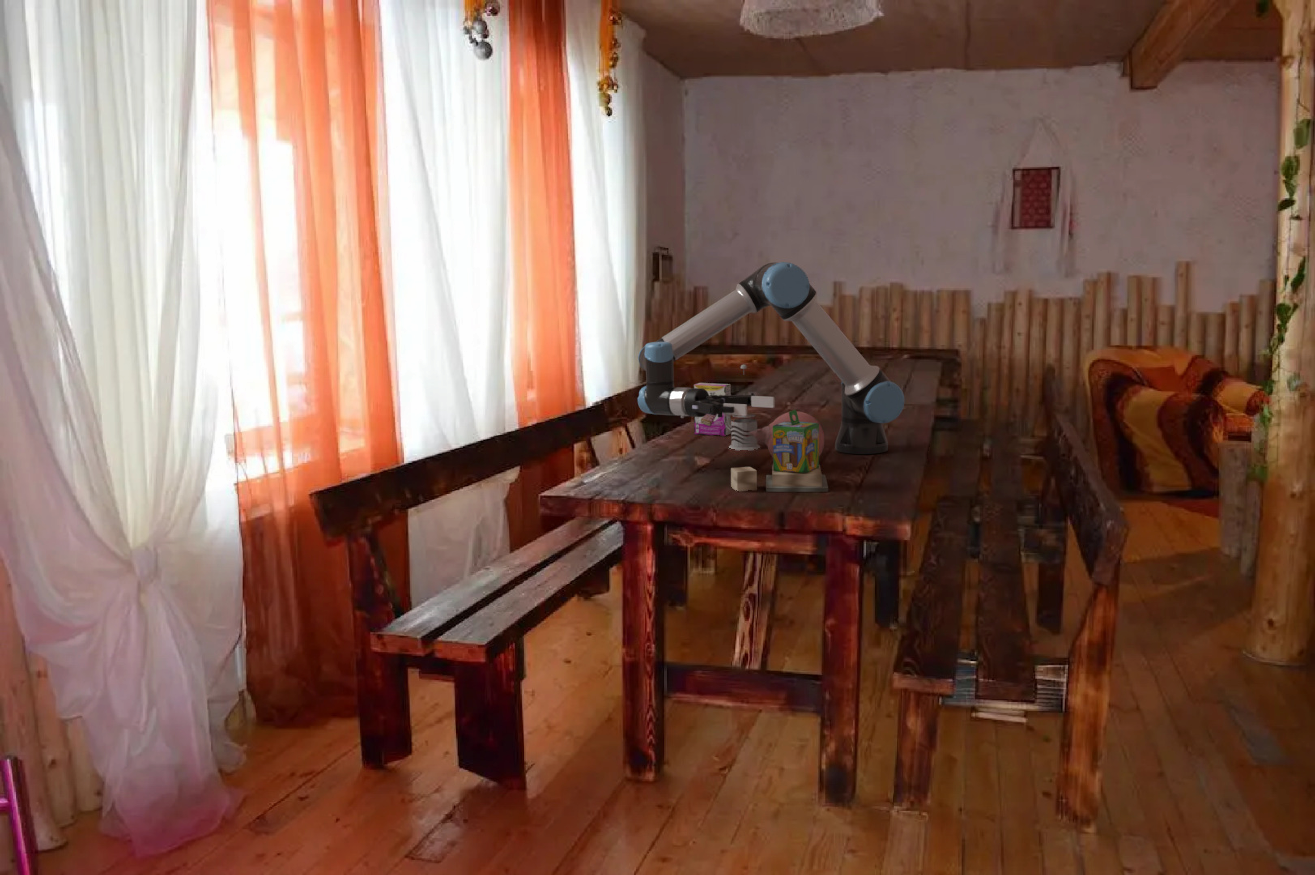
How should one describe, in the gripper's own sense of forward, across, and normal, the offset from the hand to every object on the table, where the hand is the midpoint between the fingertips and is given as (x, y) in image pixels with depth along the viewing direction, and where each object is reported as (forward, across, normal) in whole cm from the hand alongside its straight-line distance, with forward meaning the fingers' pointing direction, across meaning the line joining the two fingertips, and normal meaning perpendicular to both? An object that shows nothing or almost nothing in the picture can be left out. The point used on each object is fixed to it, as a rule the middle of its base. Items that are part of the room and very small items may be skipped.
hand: (760, 406), depth 271 cm
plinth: (+10, 0, -20) cm, 22 cm away
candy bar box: (-50, -53, -20) cm, 76 cm away
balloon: (-3, -18, -20) cm, 27 cm away
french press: (-30, -38, -20) cm, 52 cm away
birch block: (0, +10, -19) cm, 22 cm away
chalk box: (+10, 0, -16) cm, 19 cm away
